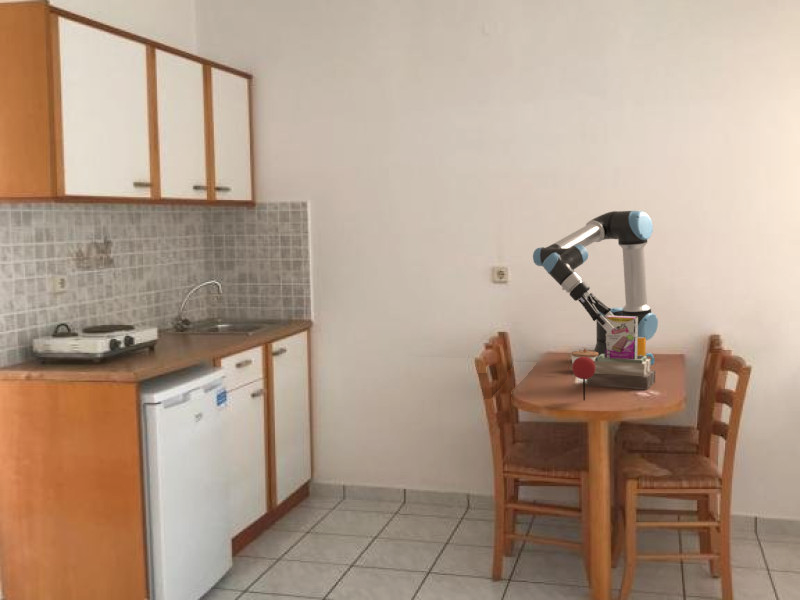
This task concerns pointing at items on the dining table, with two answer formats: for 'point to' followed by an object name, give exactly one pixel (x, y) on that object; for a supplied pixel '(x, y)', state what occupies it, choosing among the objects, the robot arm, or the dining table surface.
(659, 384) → the dining table surface
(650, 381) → the tower base
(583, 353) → the lidded jar
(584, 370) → the lollipop
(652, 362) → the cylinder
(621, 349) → the candy bar box
